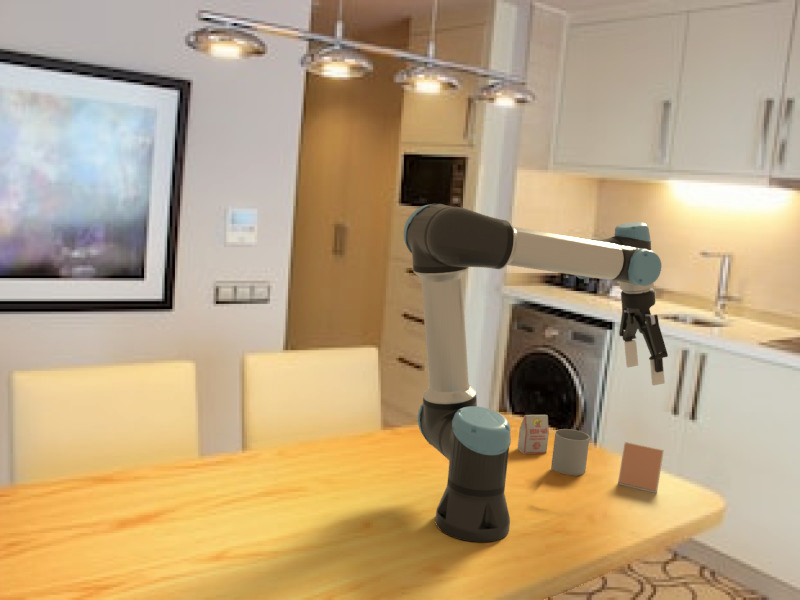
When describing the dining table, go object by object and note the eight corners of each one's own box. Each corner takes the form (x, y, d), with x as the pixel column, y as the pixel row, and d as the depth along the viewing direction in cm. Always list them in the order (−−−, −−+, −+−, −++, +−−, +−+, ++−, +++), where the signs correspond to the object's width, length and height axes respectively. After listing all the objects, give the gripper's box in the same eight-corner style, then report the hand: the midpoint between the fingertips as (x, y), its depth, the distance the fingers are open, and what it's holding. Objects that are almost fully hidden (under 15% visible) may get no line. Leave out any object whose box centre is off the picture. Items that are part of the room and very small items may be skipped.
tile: (625, 441, 181) (624, 441, 181) (663, 449, 178) (663, 450, 177) (617, 484, 180) (617, 485, 180) (656, 494, 177) (656, 494, 176)
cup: (575, 482, 182) (580, 442, 180) (545, 472, 186) (549, 433, 185) (590, 473, 188) (594, 435, 187) (559, 464, 193) (564, 426, 192)
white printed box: (517, 448, 202) (521, 413, 200) (540, 448, 204) (544, 412, 202) (523, 453, 199) (527, 417, 197) (546, 453, 200) (550, 417, 199)
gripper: (679, 297, 163) (686, 388, 168) (629, 276, 187) (636, 356, 192) (646, 304, 162) (654, 395, 167) (600, 281, 186) (608, 362, 191)
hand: (644, 374), depth 180 cm, fingers open, 13 cm apart
